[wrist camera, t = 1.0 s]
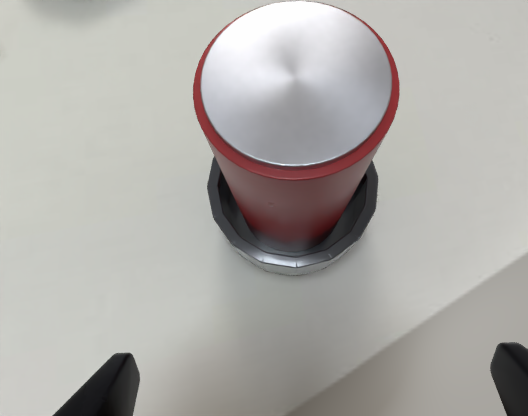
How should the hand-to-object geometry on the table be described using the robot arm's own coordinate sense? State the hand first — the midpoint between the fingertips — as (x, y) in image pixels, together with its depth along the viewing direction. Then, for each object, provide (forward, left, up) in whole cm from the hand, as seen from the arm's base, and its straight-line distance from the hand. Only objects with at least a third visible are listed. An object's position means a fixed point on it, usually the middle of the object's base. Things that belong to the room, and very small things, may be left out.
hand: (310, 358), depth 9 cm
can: (+8, -2, -13) cm, 15 cm away
